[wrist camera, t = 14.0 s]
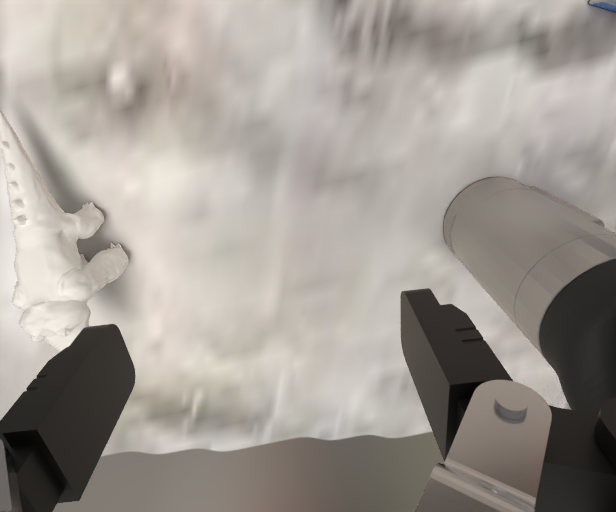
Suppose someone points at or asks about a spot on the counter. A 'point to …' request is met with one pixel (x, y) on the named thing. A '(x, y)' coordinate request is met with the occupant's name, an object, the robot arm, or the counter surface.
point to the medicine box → (604, 4)
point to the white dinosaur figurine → (52, 252)
